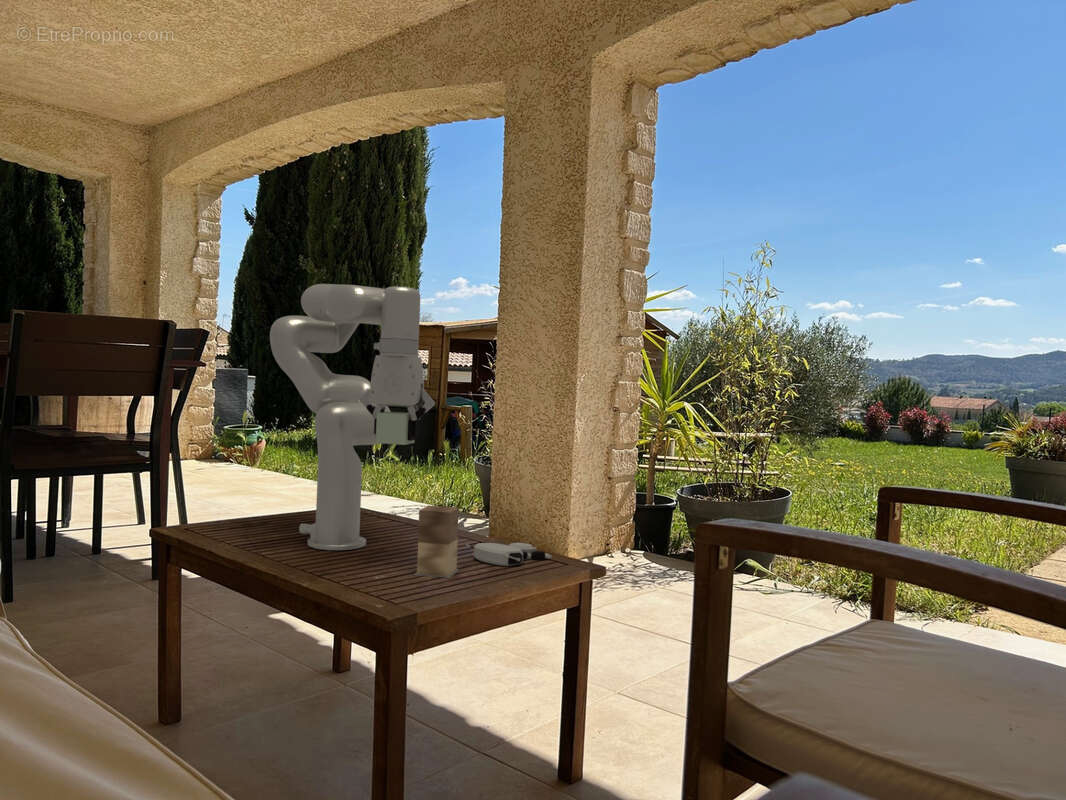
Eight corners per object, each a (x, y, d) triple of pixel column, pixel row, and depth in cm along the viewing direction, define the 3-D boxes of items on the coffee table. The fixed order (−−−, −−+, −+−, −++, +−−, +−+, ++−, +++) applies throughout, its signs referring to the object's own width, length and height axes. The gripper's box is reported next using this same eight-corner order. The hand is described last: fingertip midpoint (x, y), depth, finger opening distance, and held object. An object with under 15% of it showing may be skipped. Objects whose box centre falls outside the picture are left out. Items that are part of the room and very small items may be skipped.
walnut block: (417, 542, 149) (419, 510, 148) (427, 536, 154) (428, 505, 154) (448, 544, 148) (450, 512, 147) (457, 538, 153) (458, 507, 153)
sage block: (375, 443, 157) (376, 412, 157) (386, 441, 163) (387, 411, 163) (404, 444, 156) (405, 414, 156) (414, 442, 162) (415, 413, 162)
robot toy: (513, 559, 175) (461, 563, 164) (515, 538, 175) (464, 541, 164) (554, 570, 166) (502, 575, 155) (556, 548, 166) (504, 551, 156)
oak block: (416, 574, 149) (418, 542, 149) (426, 566, 155) (427, 536, 154) (447, 576, 148) (449, 544, 148) (456, 569, 154) (457, 538, 153)
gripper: (351, 346, 157) (347, 438, 157) (435, 350, 154) (431, 443, 154) (365, 348, 164) (362, 435, 165) (446, 351, 161) (442, 440, 162)
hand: (395, 438), depth 159 cm, fingers closed on sage block, 6 cm apart
